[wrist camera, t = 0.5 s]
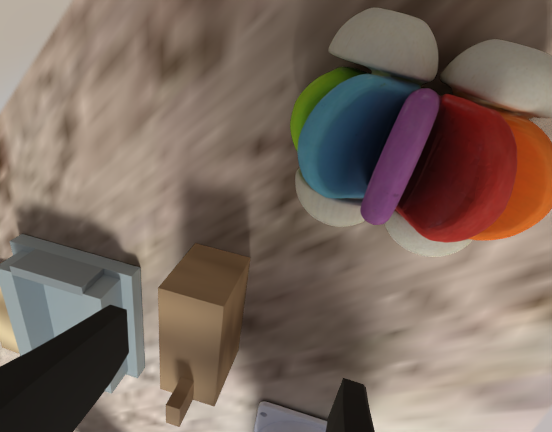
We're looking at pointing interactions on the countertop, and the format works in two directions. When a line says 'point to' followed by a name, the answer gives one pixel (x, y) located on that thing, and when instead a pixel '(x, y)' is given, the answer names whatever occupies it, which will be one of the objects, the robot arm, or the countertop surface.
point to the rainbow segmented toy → (425, 137)
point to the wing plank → (6, 328)
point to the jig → (69, 295)
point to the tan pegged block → (200, 326)
